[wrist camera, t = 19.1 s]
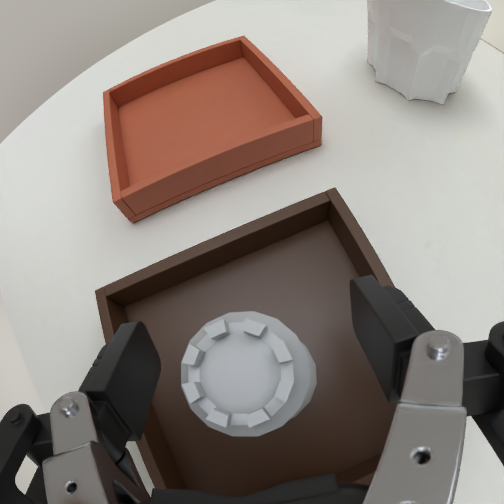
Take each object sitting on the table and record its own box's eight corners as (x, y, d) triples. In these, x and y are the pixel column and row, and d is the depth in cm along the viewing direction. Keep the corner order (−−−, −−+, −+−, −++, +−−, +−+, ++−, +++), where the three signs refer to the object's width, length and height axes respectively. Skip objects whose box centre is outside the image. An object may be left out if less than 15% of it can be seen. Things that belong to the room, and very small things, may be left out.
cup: (478, 119, 19) (515, 26, 10) (371, 105, 20) (386, -12, 11) (439, 56, 23) (456, -21, 14) (350, 44, 24) (352, -43, 15)
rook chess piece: (327, 409, 13) (361, 440, 5) (232, 431, 13) (164, 477, 6) (302, 320, 15) (307, 254, 7) (212, 343, 15) (131, 301, 7)
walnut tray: (198, 521, 11) (181, 540, 9) (119, 303, 17) (94, 290, 14) (437, 426, 12) (460, 431, 9) (331, 213, 17) (335, 186, 15)
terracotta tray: (132, 223, 19) (112, 203, 17) (114, 112, 24) (102, 92, 22) (321, 145, 19) (322, 116, 17) (248, 57, 25) (243, 35, 23)
